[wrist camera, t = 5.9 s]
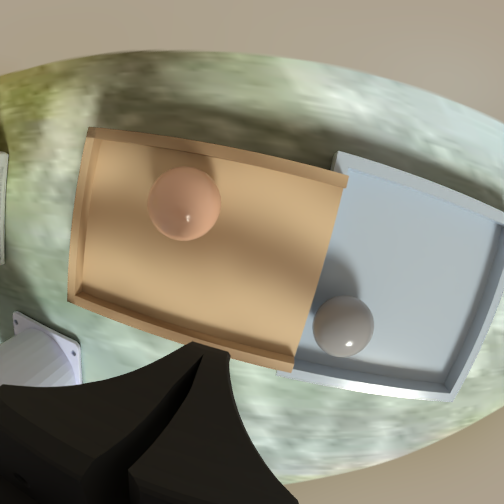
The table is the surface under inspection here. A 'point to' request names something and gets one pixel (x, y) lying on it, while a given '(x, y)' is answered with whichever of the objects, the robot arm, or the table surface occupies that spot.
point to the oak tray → (202, 245)
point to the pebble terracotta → (184, 203)
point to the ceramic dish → (407, 283)
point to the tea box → (2, 202)
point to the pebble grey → (343, 326)
